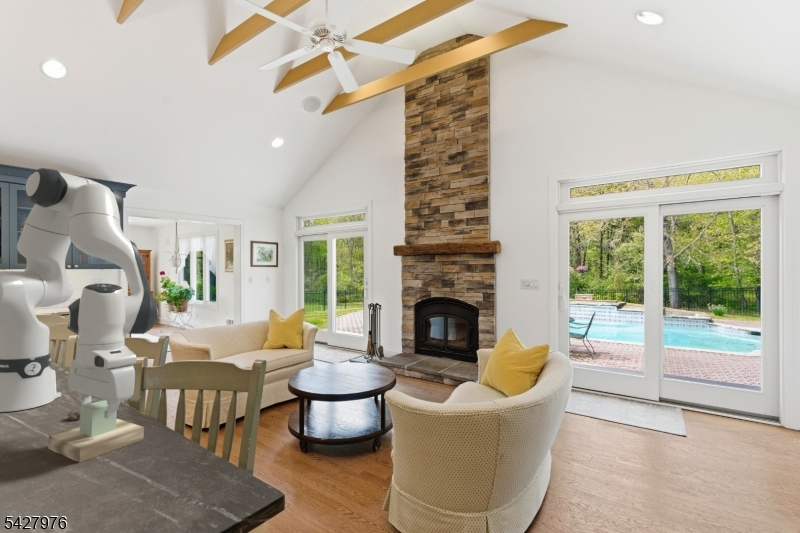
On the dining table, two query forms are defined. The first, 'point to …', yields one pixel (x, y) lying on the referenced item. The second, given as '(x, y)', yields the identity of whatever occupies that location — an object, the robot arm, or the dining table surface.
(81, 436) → the birch plinth
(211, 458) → the dining table surface
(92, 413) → the sage block
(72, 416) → the mineral rock
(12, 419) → the dining table surface
